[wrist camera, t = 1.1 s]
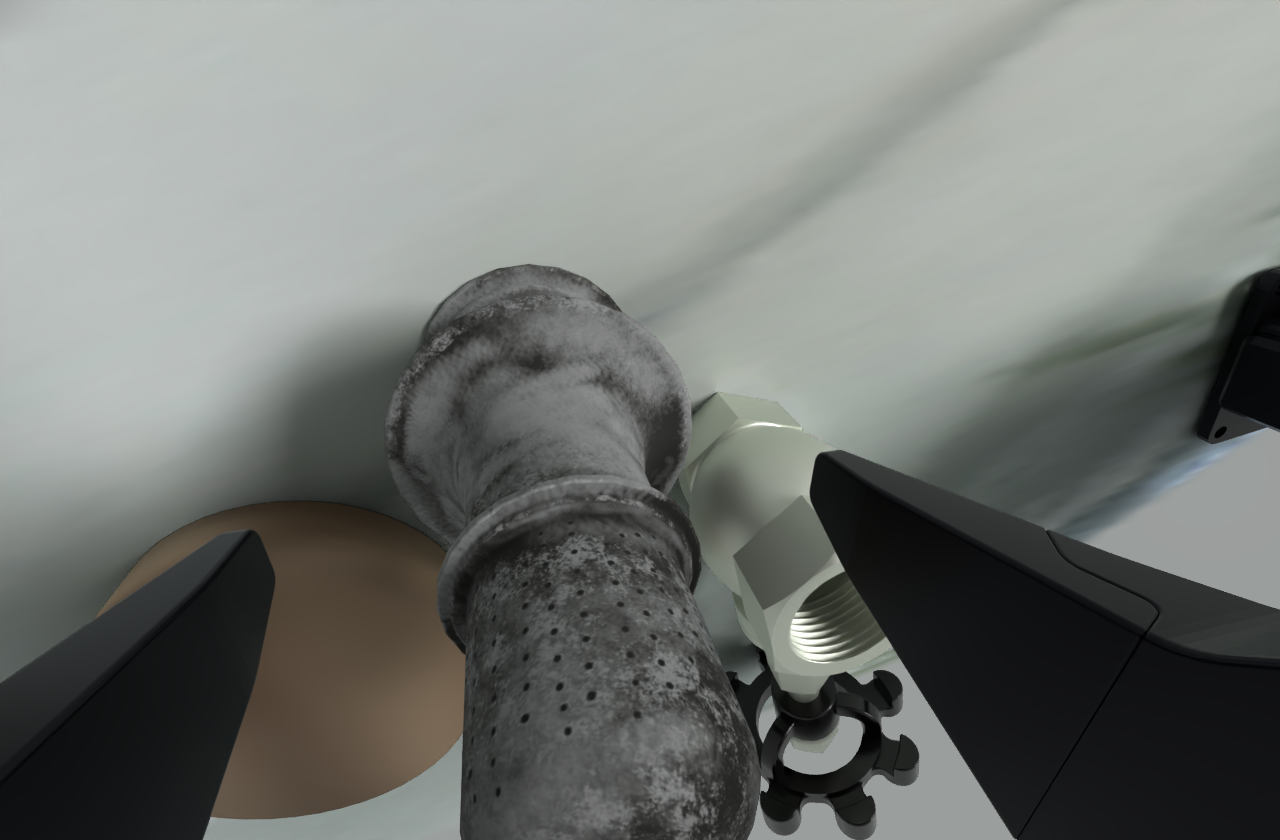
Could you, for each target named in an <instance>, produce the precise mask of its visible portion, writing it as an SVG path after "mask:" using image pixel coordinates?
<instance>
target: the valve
mask: <svg viewBox="0 0 1280 840" xmlns="http://www.w3.org/2000/svg"><path fill="white" fill-rule="evenodd" d="M691 418H692V435H691V439H690V444H689V448H688V452H687V456H686V461H685V464H684V466H683V468H682V470H681V472H680V474H679V476H678V479H679V483H680V486H681V490H682V492H683V494H684V496H685V498H686V500H687V502H688V504H689V518H690V521H691V523H692V525H693V528H694V530H695V533H696V535H697V537H698V540H699V542H700V549H701V556H702V558H703V560H704V562H705V563H706V565H707V566H708V567H709V569H710V570H711V571H712V573H713V574H714V575H715V576H716V577H717V578H718V579H719V580H720V581H721V582H722V583H723V584H724V585H725V586H726V587H728V588H729V589H730V590H732V593H733V600H734V605H735V609H736V613H737V617H738V621H739V624H740V626H741V629H742V630H743V632H744V633H745V635H746V636H747V638H748V639H749V640H750V641H752V642H753V643H754V644H755V645H756V653H757V657H758V662H759V666H760V668H761V670H762V671H763V672H762V673H761V674H760V675H759V676H758V677H757V678H756V679H755V680H754V681H753V682H752V684H751V685H747V684H744V683H743V682H742V681H740V680H739V679H738V675H737V673H736V672H731V671H729V672H726V675H727V677H728V679H729V682H730V684H731V686H732V689H733V691H734V693H735V696H736V698H737V700H738V703H739V705H740V707H741V710H742V712H743V714H744V717H745V719H746V721H747V724H748V726H749V728H750V731H751V733H752V735H753V738H754V740H755V745H756V750H757V755H758V760H759V765H760V770H761V776H762V777H763V778H764V779H765V780H766V781H767V782H768V784H769V789H768V791H767V792H766V793H765V792H764V791H761V794H760V805H761V809H762V812H763V816H764V820H765V822H766V824H767V826H768V827H769V828H770V829H771V830H772V831H773V832H774V833H776V834H778V835H790V834H792V833H794V832H795V831H796V830H797V829H798V827H799V826H800V823H801V809H802V807H803V806H804V805H805V804H806V803H809V802H815V803H826V804H828V805H829V806H831V808H832V809H833V810H834V813H835V817H836V821H837V824H838V826H839V828H840V829H841V831H842V832H843V833H844V834H845V835H847V836H848V837H850V838H852V839H855V840H865V839H867V838H869V837H870V836H871V835H872V834H873V833H874V831H875V828H876V808H875V803H874V800H873V798H872V796H868V797H867V796H866V795H865V794H864V792H863V787H864V786H865V784H866V783H867V782H868V781H869V779H871V777H872V776H874V775H878V774H879V775H883V776H885V778H886V779H888V780H889V781H890V782H892V783H894V784H896V785H900V786H907V785H910V784H912V783H913V782H915V780H916V779H917V777H918V774H919V752H918V749H917V747H916V745H915V744H914V743H913V741H912V740H911V739H909V738H908V737H906V736H905V735H902V734H901V735H900V741H897V740H891V739H889V738H887V737H886V736H885V735H884V734H883V733H882V728H881V727H882V726H881V718H882V717H883V716H884V717H892V716H895V715H897V714H898V713H899V712H900V711H901V709H902V703H903V699H902V697H903V688H902V684H901V682H900V680H899V679H898V678H897V677H896V676H895V675H894V674H893V673H890V672H888V671H885V670H877V671H874V672H873V674H874V675H873V677H874V679H873V680H871V681H870V682H869V683H867V684H864V685H861V684H860V683H859V682H858V681H857V680H856V679H855V678H854V677H852V676H851V675H850V674H848V673H847V672H846V671H848V670H851V669H854V668H856V667H859V666H861V665H863V664H865V663H867V662H869V661H871V660H873V659H874V658H876V657H877V656H879V655H881V654H882V653H884V652H885V651H886V650H888V649H889V648H890V647H892V645H891V644H890V642H889V641H888V639H887V637H886V636H885V634H884V633H883V631H882V630H881V628H880V626H879V625H878V623H877V622H876V620H875V619H874V617H873V615H872V614H871V612H870V611H869V609H868V607H867V606H866V604H865V603H864V601H863V600H862V598H861V596H860V595H859V593H858V592H857V590H856V589H855V587H854V585H853V584H852V582H851V580H850V579H849V577H848V575H847V574H846V572H845V570H844V568H843V566H842V564H841V562H840V561H839V558H838V556H837V554H836V552H835V550H834V548H833V546H832V544H831V542H830V540H829V538H828V536H827V534H826V532H825V530H824V528H823V526H822V524H821V522H820V520H819V518H818V516H817V514H816V512H815V510H814V508H813V506H812V503H811V500H810V494H809V491H810V484H811V479H812V473H813V467H814V462H815V458H816V456H817V455H818V454H819V453H820V452H826V451H833V450H835V449H834V448H833V447H831V446H830V445H829V444H827V443H826V442H824V441H822V440H821V439H819V438H817V437H815V436H813V435H811V434H808V433H806V432H803V428H802V427H801V426H800V425H799V424H798V423H797V422H796V420H795V419H794V418H793V417H792V416H791V415H790V414H789V413H788V412H787V411H786V410H785V409H784V408H783V407H782V406H781V405H780V404H779V403H778V402H775V401H771V400H765V399H759V398H753V397H747V396H741V395H735V394H728V393H716V394H715V395H714V396H712V397H711V398H710V399H709V400H708V401H707V402H706V403H705V404H704V405H703V406H702V407H701V408H700V409H699V410H698V411H697V412H696V413H695V414H693V415H692V416H691ZM771 695H772V698H773V703H774V708H775V712H776V717H777V718H776V720H775V721H774V723H773V724H772V726H771V728H770V729H769V731H768V733H767V735H766V738H765V740H764V743H762V741H761V739H760V737H759V731H758V723H759V717H760V713H761V710H762V708H763V706H764V704H765V702H766V701H767V699H768V698H769V697H770V696H771ZM839 716H846V717H852V718H855V719H857V720H859V721H860V722H861V724H862V727H863V736H862V741H861V745H860V747H859V750H858V752H857V753H856V755H855V756H854V757H853V759H852V760H851V761H850V762H849V763H848V764H846V765H845V766H843V767H841V768H840V769H838V770H836V771H834V772H830V773H827V774H821V775H809V774H803V773H799V772H796V771H794V770H792V769H790V768H788V767H786V766H784V763H783V753H784V750H785V748H786V746H787V744H788V742H789V741H790V742H791V744H792V746H793V748H794V749H797V750H802V751H806V752H814V753H823V752H824V751H825V750H826V749H827V747H828V746H829V745H830V743H831V742H832V740H833V738H834V737H835V735H836V733H837V732H838V724H839Z"/></svg>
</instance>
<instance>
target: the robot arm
mask: <svg viewBox="0 0 1280 840" xmlns="http://www.w3.org/2000/svg"><path fill="white" fill-rule="evenodd" d="M1266 427H1268V428H1271V429H1273V430H1276V431H1278V432H1280V268H1276V269H1273V270H1271V271H1269V272H1268V273H1266V274H1265V275H1264V276H1263V277H1262V278H1261V279H1260V281H1259V282H1258V283H1257V285H1256V287H1255V289H1254V292H1253V294H1252V297H1251V299H1250V302H1249V304H1248V307H1247V309H1246V312H1245V314H1244V317H1243V319H1242V322H1241V324H1240V326H1239V329H1238V331H1237V334H1236V336H1235V339H1234V341H1233V344H1232V346H1231V349H1230V351H1229V354H1228V356H1227V359H1226V361H1225V364H1224V366H1223V369H1222V371H1221V374H1220V376H1219V378H1218V381H1217V383H1216V386H1215V388H1214V391H1213V393H1212V396H1211V398H1210V401H1209V403H1208V406H1207V408H1206V411H1205V413H1204V416H1203V418H1202V421H1201V423H1200V426H1199V428H1198V430H1197V437H1198V438H1200V439H1202V440H1204V441H1206V442H1208V443H1211V444H1216V443H1219V442H1222V441H1225V440H1229V439H1232V438H1235V437H1238V436H1241V435H1244V434H1248V433H1251V432H1254V431H1257V430H1260V429H1263V428H1266ZM809 494H810V500H811V503H812V506H813V508H814V510H815V512H816V514H817V516H818V518H819V520H820V522H821V524H822V526H823V528H824V530H825V532H826V534H827V536H828V538H829V540H830V542H831V544H832V546H833V548H834V550H835V552H836V554H837V556H838V558H839V561H840V562H841V564H842V566H843V568H844V570H845V572H846V574H847V575H848V577H849V579H850V580H851V582H852V584H853V585H854V587H855V589H856V590H857V592H858V593H859V595H860V596H861V598H862V600H863V601H864V603H865V604H866V606H867V607H868V609H869V611H870V612H871V614H872V615H873V617H874V619H875V620H876V622H877V623H878V625H879V626H880V628H881V630H882V631H883V633H884V634H885V636H886V637H887V639H888V641H889V642H890V644H891V645H892V647H893V649H894V650H895V652H896V653H897V655H898V656H899V658H900V660H901V661H902V663H903V664H904V666H905V667H906V669H907V670H908V672H909V674H910V675H911V677H912V678H913V680H914V681H915V683H916V685H917V686H918V688H919V690H920V691H921V693H922V694H923V696H924V697H925V699H926V701H927V702H928V704H929V705H930V707H931V709H932V710H933V711H934V713H935V715H936V716H937V718H938V720H939V721H940V723H941V724H942V726H943V727H944V729H945V731H946V732H947V734H948V735H949V737H950V738H951V740H952V742H953V743H954V745H955V746H956V748H957V749H958V751H959V753H960V754H961V756H962V757H963V759H964V760H965V762H966V764H967V765H968V767H969V769H970V770H971V772H972V773H973V775H974V776H975V778H976V780H977V781H978V783H979V784H980V786H981V787H982V789H983V791H984V792H985V794H986V795H987V797H988V798H989V800H990V801H991V803H992V805H993V806H994V808H995V809H996V811H997V813H998V814H999V816H1000V817H1001V819H1002V820H1003V822H1004V824H1005V825H1006V827H1007V828H1008V830H1009V831H1010V833H1011V835H1012V836H1013V838H1014V839H1017V840H1280V610H1279V609H1276V608H1272V607H1269V606H1266V605H1262V604H1259V603H1256V602H1253V601H1251V600H1247V599H1244V598H1242V597H1239V596H1236V595H1232V594H1230V593H1227V592H1224V591H1221V590H1217V589H1215V588H1211V587H1209V586H1206V585H1203V584H1200V583H1197V582H1194V581H1191V580H1188V579H1185V578H1181V577H1179V576H1176V575H1173V574H1169V573H1167V572H1164V571H1161V570H1158V569H1155V568H1152V567H1149V566H1146V565H1143V564H1140V563H1138V562H1135V561H1131V560H1129V559H1126V558H1123V557H1120V556H1117V555H1114V554H1112V553H1109V552H1106V551H1103V550H1101V549H1098V548H1095V547H1093V546H1090V545H1087V544H1085V543H1082V542H1079V541H1077V540H1074V539H1071V538H1069V537H1066V536H1064V535H1061V534H1058V533H1056V532H1053V531H1051V530H1047V531H1045V529H1044V528H1042V527H1040V526H1037V525H1035V524H1032V523H1030V522H1027V521H1024V520H1022V519H1019V518H1017V517H1014V516H1011V515H1009V514H1006V513H1004V512H1001V511H998V510H996V509H993V508H991V507H988V506H985V505H983V504H980V503H978V502H975V501H972V500H970V499H967V498H965V497H962V496H959V495H957V494H954V493H952V492H949V491H947V490H944V489H941V488H939V487H936V486H934V485H931V484H928V483H926V482H923V481H921V480H918V479H915V478H913V477H910V476H908V475H905V474H902V473H900V472H897V471H895V470H892V469H889V468H887V467H884V466H882V465H879V464H876V463H874V462H871V461H869V460H866V459H863V458H861V457H858V456H856V455H853V454H850V453H848V452H845V451H842V450H833V451H826V452H820V453H819V454H818V455H817V456H816V458H815V462H814V467H813V473H812V479H811V484H810V491H809ZM275 581H276V580H275V572H274V569H273V566H272V564H271V561H270V559H269V557H268V554H267V552H266V549H265V547H264V544H263V542H262V540H261V537H260V535H259V534H258V533H257V532H256V531H255V530H252V529H244V530H237V531H229V532H224V533H221V534H219V535H217V536H216V537H214V538H213V539H211V540H210V541H208V542H207V543H206V544H204V545H203V546H201V547H200V548H198V549H197V550H195V551H194V552H192V553H191V554H189V555H188V556H186V557H185V558H183V559H182V560H181V561H179V562H178V563H176V564H175V565H173V566H172V567H170V568H169V569H167V570H166V571H164V572H163V573H161V574H160V575H158V576H157V577H156V578H154V579H153V580H151V581H150V582H148V583H147V584H145V585H144V586H142V587H141V588H139V589H138V590H136V591H135V592H133V593H132V594H130V595H129V596H128V597H126V598H125V599H123V600H122V601H120V602H119V603H117V604H116V605H114V606H113V607H111V608H110V609H108V610H107V611H105V612H104V613H103V614H101V615H100V616H98V617H97V618H95V619H94V620H92V621H91V622H89V623H88V624H86V625H85V626H83V627H82V628H80V629H79V630H78V631H76V632H75V633H73V634H72V635H70V636H69V637H67V638H66V639H64V640H63V641H61V642H60V643H58V644H57V645H55V646H54V647H53V648H51V649H50V650H48V651H47V652H45V653H44V654H42V655H41V656H39V657H38V658H36V659H35V660H33V661H32V662H30V663H29V664H28V665H26V666H25V667H23V668H22V669H20V670H19V671H17V672H16V673H14V674H13V675H11V676H10V677H8V678H7V679H5V680H4V681H3V682H1V683H0V840H203V838H204V835H205V832H206V829H207V826H208V823H209V820H210V817H211V814H212V811H213V808H214V805H215V802H216V799H217V796H218V793H219V790H220V787H221V784H222V781H223V778H224V775H225V772H226V769H227V766H228V763H229V760H230V757H231V754H232V751H233V748H234V745H235V742H236V739H237V736H238V733H239V730H240V727H241V724H242V721H243V718H244V715H245V712H246V709H247V706H248V703H249V700H250V697H251V694H252V690H253V687H254V684H255V680H256V676H257V672H258V667H259V663H260V658H261V653H262V648H263V643H264V638H265V634H266V629H267V624H268V619H269V614H270V609H271V604H272V599H273V594H274V590H275Z"/></svg>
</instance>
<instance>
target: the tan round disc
mask: <svg viewBox="0 0 1280 840" xmlns="http://www.w3.org/2000/svg"><path fill="white" fill-rule="evenodd" d="M244 529H252V530H255V531H256V532H257V533H258V534H259V535H260V537H261V540H262V542H263V544H264V547H265V549H266V552H267V554H268V557H269V559H270V561H271V564H272V566H273V569H274V572H275V580H276V581H275V590H274V594H273V599H272V604H271V609H270V614H269V619H268V624H267V629H266V634H265V638H264V643H263V648H262V653H261V658H260V663H259V667H258V672H257V676H256V680H255V684H254V687H253V690H252V694H251V697H250V700H249V703H248V706H247V709H246V712H245V715H244V718H243V721H242V724H241V727H240V730H239V733H238V736H237V739H236V742H235V745H234V748H233V751H232V754H231V757H230V760H229V763H228V766H227V769H226V772H225V775H224V778H223V781H222V784H221V787H220V790H219V793H218V796H217V799H216V802H215V805H214V808H213V811H212V814H211V817H217V818H231V819H275V818H288V817H297V816H304V815H311V814H317V813H322V812H327V811H331V810H336V809H340V808H344V807H347V806H351V805H354V804H357V803H361V802H364V801H366V800H369V799H372V798H374V797H377V796H380V795H382V794H384V793H386V792H389V791H391V790H393V789H395V788H397V787H399V786H401V785H403V784H405V783H406V782H408V781H410V780H412V779H413V778H415V777H417V776H418V775H420V774H421V773H423V772H424V771H425V770H427V769H428V768H430V767H431V766H432V765H434V764H435V763H436V762H437V761H438V760H439V759H440V758H442V757H443V756H444V755H445V754H446V753H447V752H448V751H449V750H450V748H451V747H452V746H453V745H454V744H455V743H456V742H457V740H458V739H459V738H460V736H461V734H462V733H463V719H464V688H465V656H466V655H465V654H463V653H462V652H461V651H460V650H459V648H458V647H457V646H456V645H455V644H454V643H453V642H452V640H451V639H450V638H449V637H448V636H447V635H446V633H445V631H444V628H443V626H442V623H441V620H440V617H439V615H438V612H437V609H436V603H437V577H438V574H439V572H440V569H441V567H442V564H443V562H444V559H445V557H446V554H447V552H446V551H445V550H444V549H443V548H442V547H441V546H440V545H438V544H437V543H436V542H434V541H433V540H431V539H430V538H429V537H427V536H426V535H424V534H423V533H421V532H419V531H418V530H416V529H414V528H412V527H410V526H408V525H406V524H404V523H402V522H400V521H397V520H395V519H392V518H390V517H387V516H385V515H382V514H379V513H376V512H372V511H369V510H365V509H362V508H358V507H352V506H347V505H341V504H336V503H326V502H314V501H278V502H269V503H260V504H252V505H247V506H243V507H238V508H233V509H229V510H225V511H222V512H219V513H216V514H213V515H210V516H207V517H204V518H201V519H199V520H197V521H195V522H193V523H190V524H188V525H186V526H184V527H182V528H180V529H178V530H177V531H175V532H173V533H172V534H170V535H169V536H167V537H165V538H164V539H162V540H161V541H159V542H158V543H157V544H156V545H155V546H154V547H152V548H151V549H150V550H149V551H148V552H146V553H145V554H144V555H143V556H142V558H141V559H140V560H139V561H138V562H137V563H136V565H135V566H134V567H133V568H132V569H131V571H130V572H129V573H128V575H127V576H126V577H125V578H124V580H123V581H122V582H121V584H120V585H119V586H118V588H117V589H116V590H115V592H114V593H113V594H112V596H111V597H110V598H109V600H108V601H107V602H106V604H105V605H104V606H103V607H102V609H101V610H100V611H99V613H98V614H97V615H96V617H95V618H97V617H98V616H100V615H101V614H103V613H104V612H105V611H107V610H108V609H110V608H111V607H113V606H114V605H116V604H117V603H119V602H120V601H122V600H123V599H125V598H126V597H128V596H129V595H130V594H132V593H133V592H135V591H136V590H138V589H139V588H141V587H142V586H144V585H145V584H147V583H148V582H150V581H151V580H153V579H154V578H156V577H157V576H158V575H160V574H161V573H163V572H164V571H166V570H167V569H169V568H170V567H172V566H173V565H175V564H176V563H178V562H179V561H181V560H182V559H183V558H185V557H186V556H188V555H189V554H191V553H192V552H194V551H195V550H197V549H198V548H200V547H201V546H203V545H204V544H206V543H207V542H208V541H210V540H211V539H213V538H214V537H216V536H217V535H219V534H221V533H224V532H229V531H237V530H244ZM95 618H94V619H95ZM94 619H93V620H94Z"/></svg>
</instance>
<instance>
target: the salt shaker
mask: <svg viewBox="0 0 1280 840" xmlns="http://www.w3.org/2000/svg"><path fill="white" fill-rule="evenodd" d="M384 429H385V456H386V461H387V464H388V467H389V469H390V472H391V475H392V477H393V480H394V483H395V485H396V488H397V491H398V493H399V494H400V496H401V497H402V498H403V499H404V501H405V502H406V503H407V505H408V506H409V507H410V508H411V510H412V511H413V512H414V514H415V515H416V516H417V517H418V519H419V520H420V521H421V522H423V523H424V524H425V525H427V526H428V527H429V528H431V529H432V530H433V531H435V532H436V533H437V534H439V535H440V536H442V537H443V538H444V539H446V540H447V541H448V542H450V543H453V544H452V545H451V546H450V547H449V549H448V552H447V554H446V557H445V559H444V562H443V564H442V567H441V569H440V572H439V574H438V577H437V603H436V609H437V612H438V615H439V617H440V620H441V623H442V626H443V628H444V631H445V633H446V635H447V636H448V637H449V638H450V639H451V640H452V642H453V643H454V644H455V645H456V646H457V647H458V648H459V650H460V651H461V652H462V653H463V654H465V655H466V656H465V688H464V719H463V750H462V782H461V813H460V835H461V840H747V838H748V836H749V834H750V832H751V830H752V828H753V825H754V820H755V815H756V810H757V805H758V800H759V795H760V781H761V770H760V765H759V760H758V755H757V750H756V745H755V740H754V738H753V735H752V733H751V731H750V728H749V726H748V724H747V721H746V719H745V717H744V714H743V712H742V710H741V707H740V705H739V703H738V700H737V698H736V696H735V693H734V691H733V689H732V686H731V684H730V682H729V679H728V677H727V675H726V672H725V670H724V668H723V665H722V663H721V661H720V658H719V656H718V654H717V651H716V649H715V647H714V644H713V642H712V640H711V637H710V635H709V633H708V630H707V628H706V626H705V623H704V621H703V619H702V616H701V614H700V612H699V609H698V607H697V605H696V602H695V600H694V598H693V594H694V592H695V588H696V585H697V581H698V578H699V575H700V571H701V549H700V542H699V540H698V537H697V535H696V533H695V530H694V528H693V525H692V523H691V521H690V519H689V517H688V516H687V515H686V514H685V513H684V512H683V510H682V509H681V508H680V507H679V506H678V505H677V504H676V503H675V502H674V501H673V500H672V499H671V497H669V496H667V495H668V494H669V492H670V491H671V489H672V487H673V485H674V483H675V481H676V479H677V477H678V476H679V474H680V472H681V470H682V468H683V466H684V464H685V461H686V456H687V452H688V448H689V444H690V439H691V435H692V418H691V399H690V397H689V394H688V391H687V388H686V385H685V383H684V380H683V377H682V374H681V372H680V369H679V367H678V365H677V364H676V363H675V361H674V360H673V359H672V357H671V356H670V355H669V353H668V352H667V351H666V349H665V348H664V347H663V345H662V344H661V343H660V341H659V340H658V339H657V337H656V336H654V335H653V334H652V333H650V332H649V331H648V330H646V329H645V328H644V327H642V326H641V325H639V324H638V323H637V322H635V321H634V320H633V319H631V318H630V317H629V316H627V315H626V314H625V313H623V312H622V311H621V310H620V309H619V307H618V306H617V305H616V303H615V302H614V301H613V299H612V298H611V297H610V296H609V295H608V294H607V293H605V292H604V291H603V290H601V289H600V288H599V287H597V286H596V285H595V284H593V283H592V282H591V281H589V280H588V279H586V278H584V277H581V276H579V275H576V274H574V273H571V272H569V271H566V270H564V269H561V268H557V267H548V266H540V265H531V264H527V265H520V266H513V267H506V268H499V269H496V270H494V271H491V272H489V273H487V274H484V275H482V276H480V277H478V278H475V279H473V280H471V281H469V282H467V283H466V284H465V285H464V286H463V287H461V288H460V289H459V290H458V291H456V292H455V293H454V294H453V295H452V296H450V297H449V298H448V299H447V300H445V302H444V303H443V305H442V306H441V308H440V309H439V311H438V312H437V314H436V315H435V317H434V318H433V320H432V321H431V323H430V324H429V327H428V330H427V333H426V336H425V340H424V343H423V345H422V346H421V347H420V348H419V349H418V351H417V352H416V354H415V355H414V357H413V358H412V359H411V361H410V362H409V364H408V365H407V367H406V368H405V370H404V371H403V373H402V374H401V376H400V377H399V379H398V380H397V381H396V384H395V387H394V391H393V394H392V398H391V401H390V404H389V408H388V411H387V414H386V418H385V421H384Z"/></svg>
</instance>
